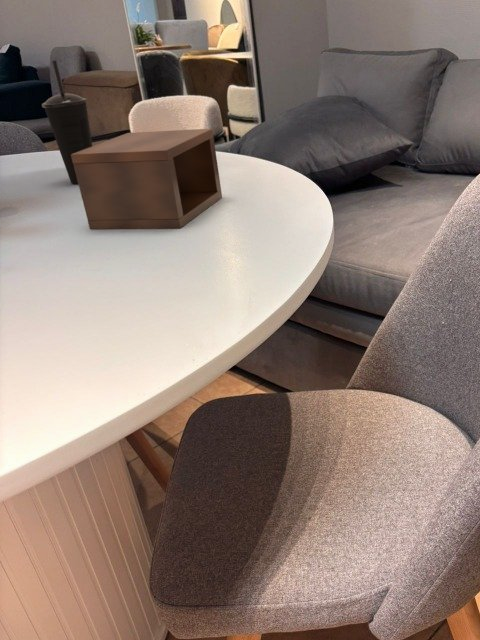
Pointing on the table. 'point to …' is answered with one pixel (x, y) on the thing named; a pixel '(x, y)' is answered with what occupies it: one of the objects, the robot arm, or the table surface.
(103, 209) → the walnut shelf
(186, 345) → the table surface
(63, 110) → the drinking cup
